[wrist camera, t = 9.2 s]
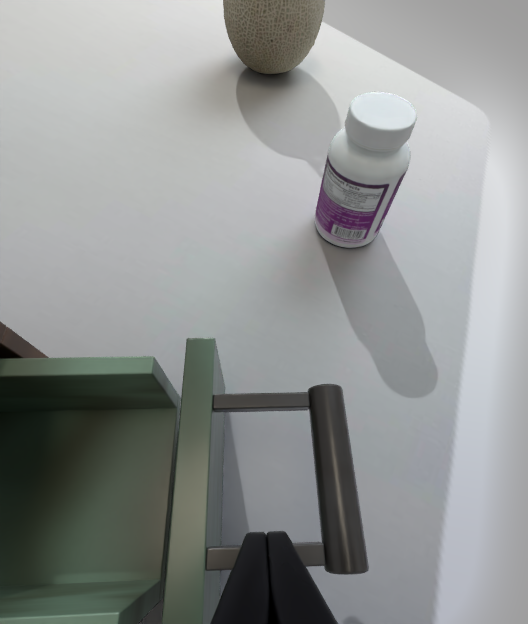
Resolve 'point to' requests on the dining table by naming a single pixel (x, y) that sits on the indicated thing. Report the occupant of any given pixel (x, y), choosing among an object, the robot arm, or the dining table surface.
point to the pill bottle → (364, 168)
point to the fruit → (272, 31)
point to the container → (141, 487)
